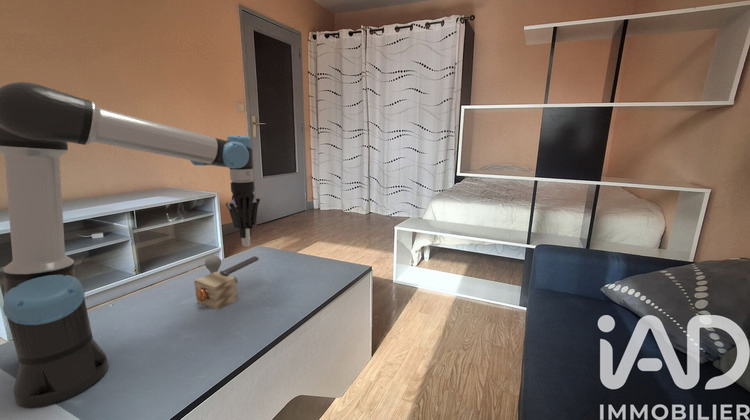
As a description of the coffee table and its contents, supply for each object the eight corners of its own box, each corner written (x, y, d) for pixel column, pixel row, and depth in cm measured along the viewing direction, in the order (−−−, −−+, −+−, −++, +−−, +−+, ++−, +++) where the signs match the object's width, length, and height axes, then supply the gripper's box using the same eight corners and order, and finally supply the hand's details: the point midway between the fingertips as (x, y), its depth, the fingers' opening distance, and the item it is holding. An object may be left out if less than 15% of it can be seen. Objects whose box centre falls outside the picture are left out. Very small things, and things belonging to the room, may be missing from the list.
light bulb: (218, 283, 120) (215, 258, 118) (204, 283, 120) (201, 258, 118) (225, 277, 126) (222, 253, 123) (211, 277, 126) (209, 253, 123)
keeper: (226, 276, 108) (225, 273, 107) (219, 274, 109) (219, 271, 109) (259, 260, 120) (259, 257, 120) (253, 258, 121) (253, 256, 121)
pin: (204, 303, 101) (203, 291, 100) (196, 299, 103) (195, 288, 102) (239, 286, 113) (238, 275, 112) (231, 283, 114) (230, 273, 113)
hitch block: (216, 310, 102) (214, 287, 100) (197, 302, 106) (194, 280, 105) (237, 299, 109) (235, 277, 107) (218, 292, 113) (216, 271, 111)
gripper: (233, 183, 104) (238, 252, 109) (264, 180, 115) (267, 242, 120) (218, 182, 107) (223, 248, 112) (249, 178, 118) (253, 239, 123)
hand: (246, 245), depth 116 cm, fingers closed
